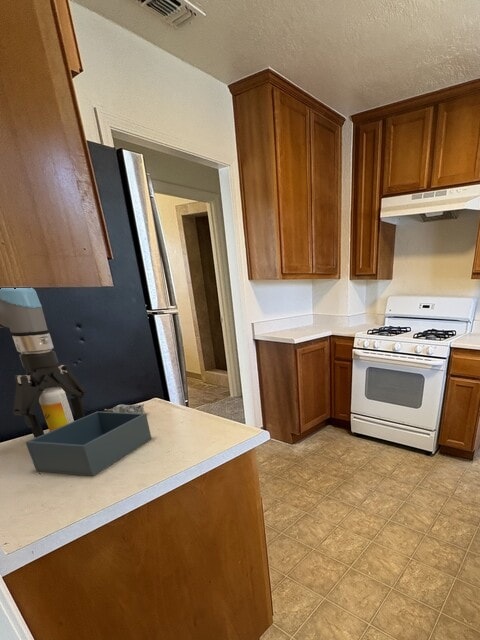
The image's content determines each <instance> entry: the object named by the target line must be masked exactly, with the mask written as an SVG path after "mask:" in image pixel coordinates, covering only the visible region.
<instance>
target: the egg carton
mask: <svg viewBox="0 0 480 640" xmlns="http://www.w3.org/2000/svg"><path fill="white" fill-rule="evenodd" d="M144 406H145V403H141V404H123V403H122V404H118V405H115V406H113V408H109V409H108V408H104V409H103V412H120V413H139V414H146V412H145V409H144Z"/></svg>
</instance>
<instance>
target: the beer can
mask: <svg viewBox="0 0 480 640" xmlns="http://www.w3.org/2000/svg"><path fill="white" fill-rule="evenodd" d="M66 394H67V393H66V392H65V391H64V390H63V389H62V388H61V387H58V386H50V387H49V388H44V391H42V392H41V395H40V397H39V400H38V403H39V406H40V409H41V410H42V413H43V416H44V420H45V422H46V425H47V429H48V432H50V431H53V430H55V429H57V428H59V427H62V426H64V425H66V424H69V423H71V422H73V421H75V420H74V419H75V418H74V416H73V413H72V409H71V407H70V403H69V401H68V397H67V395H66Z"/></svg>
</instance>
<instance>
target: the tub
mask: <svg viewBox="0 0 480 640" xmlns="http://www.w3.org/2000/svg"><path fill="white" fill-rule="evenodd" d="M152 439H153V438H152V434H151V429H150V425H149V422H148V416H147V413H145V414H139V413H120V412H107V411H99V410H97V411H95V412H92V413H90V414H88V415H85V417H83V418H80V419H78V420H77V419H76V420H74V421H73V422H71V423H69V424H66V425H64V426H62V427H59V428H57V429H55V430H53V431H48V432H46V433H44V434H43V435H41V436H39V437H36V438H34V437H33V438H31V439H29V440H26V441H25V445H26V448H27V451H28V454H29V455H30V458H31V460H32V463H33V466H34V468H35V471H36V472H42V473H43V472H44V473H54V474H65V475H77V476H87V477H94V476H95V475H97V474H98V473H100V472H102V471H103V470H105V469H107V468H109V467H110V466H111V465H113V464H114V463H116V462H118V461H119V460H120V459H122V458H124V457H125V456H127V455H129V454H130V453H132V452H133V451H135V450H136V449H138V448H140V447H141V446H143V445H144V444H147V442H149V441H150V440H152Z"/></svg>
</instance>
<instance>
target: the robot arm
mask: <svg viewBox="0 0 480 640" xmlns="http://www.w3.org/2000/svg"><path fill="white" fill-rule="evenodd" d="M0 329H9V331H10V334H11V336H12V340H13V343H14V345H15V348H16V349H15V350H16V351H17V352H18V353H19V355H18V356H19V357H18V358H19V359H20V362H21V365H22V368H23V369H24V370H25V371H26V374H24V375H20V374H19V375H14V382H15V392H14V401H13V409H12V414H13V415H14V416H23V418H24V421H25V423H26V427H28V428H30V430H31V432H32V435H33V439H34V438H36V437H39V436H41V435H43V434H45V431H44V429H43V426H42V423H41V420H40V417H39V414H38V413H35V411H36V408H37V405H38V403H39V397H40V395H41V392H42V391H44V389H45V388H51V387H61V388H62V389H63V390H64V391H65V393H66V394H68V395H69V396H71V398H69V399H70V403H71V406H72V410H73V413H74V416H75V419H76V420H78V419H80V418H83V417H85V416H86V414H85V410H84V407H85V405H84V401H83V398H85V394H87V390H86V388H85V386H83V385H82V383H81V382H80V381H79V380H78V378H77V377H76V376H75V375H74V373H73V372H72V371H71V367H70V365H68V364H59V358H58V355H57V353H56V351H55V350H53V349H55V348H54V347H55V346H54V344H53V340H52V337H51V334H50V331H49V329H48V326H47V322H46V318H45V314H44V310H43V305H42V304H41V301H40V299H39V296H38V293H37V291H36V289H35V288H33V287H31V288H16V289H14V288H1V289H0ZM61 376H62V377H61Z"/></svg>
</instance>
